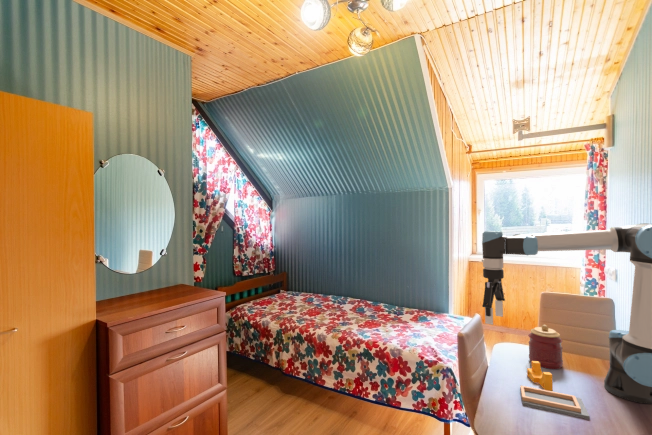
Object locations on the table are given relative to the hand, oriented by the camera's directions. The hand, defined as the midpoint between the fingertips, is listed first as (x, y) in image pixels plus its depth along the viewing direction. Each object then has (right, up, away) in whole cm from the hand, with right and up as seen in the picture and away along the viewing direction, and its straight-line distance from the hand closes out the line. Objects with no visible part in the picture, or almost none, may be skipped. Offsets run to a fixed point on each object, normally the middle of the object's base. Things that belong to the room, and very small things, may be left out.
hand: (494, 319), depth 133 cm
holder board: (+12, -25, -16) cm, 32 cm away
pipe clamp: (+17, -25, -2) cm, 31 cm away
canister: (+32, -25, +15) cm, 43 cm away
